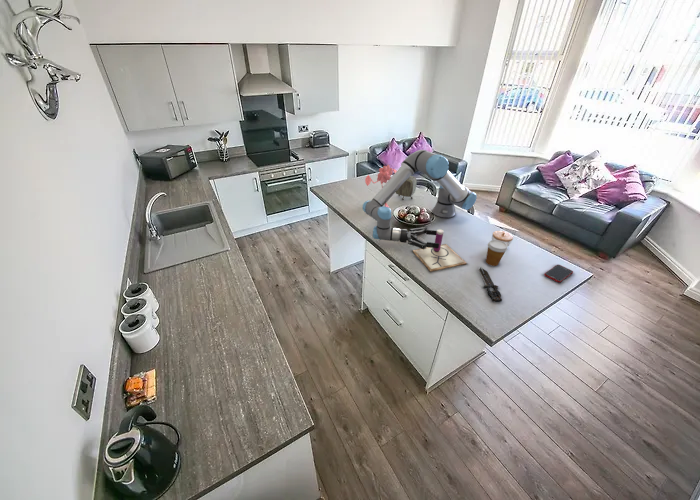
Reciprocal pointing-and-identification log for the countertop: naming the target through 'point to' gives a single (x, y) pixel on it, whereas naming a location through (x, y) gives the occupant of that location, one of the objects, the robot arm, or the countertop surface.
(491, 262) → the disposable coffee cup
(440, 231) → the dot marker
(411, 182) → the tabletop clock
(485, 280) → the knife
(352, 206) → the countertop surface
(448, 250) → the drawing board
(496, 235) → the lidded sugar bowl
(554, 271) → the cell phone
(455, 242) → the countertop surface
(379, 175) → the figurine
